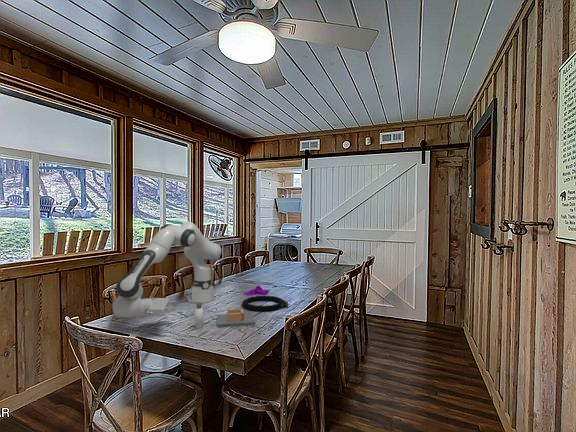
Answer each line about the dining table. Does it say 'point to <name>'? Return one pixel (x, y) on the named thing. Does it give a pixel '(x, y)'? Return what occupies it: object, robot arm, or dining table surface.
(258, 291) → the cloth
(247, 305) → the cable lock
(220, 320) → the holder
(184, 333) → the dining table surface
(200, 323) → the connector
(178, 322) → the dining table surface
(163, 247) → the robot arm
